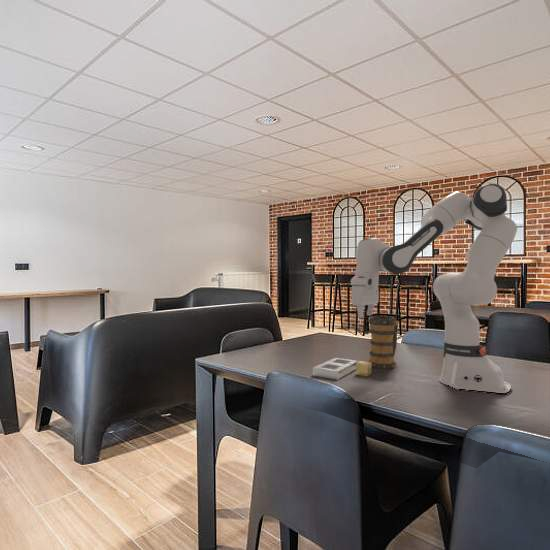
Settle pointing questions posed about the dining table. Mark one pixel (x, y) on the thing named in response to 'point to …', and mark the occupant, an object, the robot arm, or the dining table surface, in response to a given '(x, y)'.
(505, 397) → the dining table surface
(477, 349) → the robot arm
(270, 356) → the dining table surface
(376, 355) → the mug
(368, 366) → the yellow cube
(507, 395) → the dining table surface
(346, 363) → the white flat tray
